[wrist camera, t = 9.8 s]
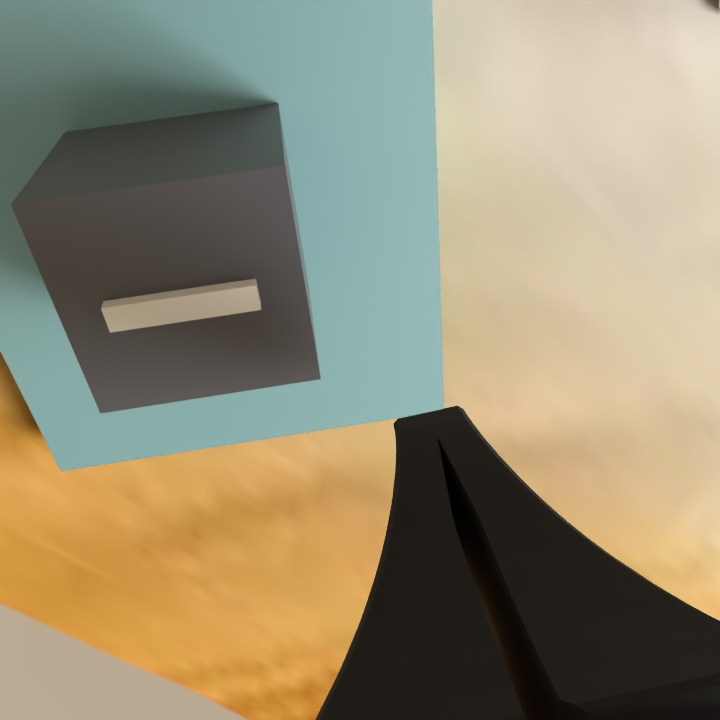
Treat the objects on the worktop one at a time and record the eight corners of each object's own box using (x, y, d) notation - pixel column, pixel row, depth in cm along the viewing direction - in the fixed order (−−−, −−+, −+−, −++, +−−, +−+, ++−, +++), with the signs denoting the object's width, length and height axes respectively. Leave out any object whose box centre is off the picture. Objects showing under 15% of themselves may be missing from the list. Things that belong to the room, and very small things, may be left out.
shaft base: (412, -184, 15) (463, -204, 11) (434, 384, 24) (466, 473, 21) (-193, -113, 14) (-346, -111, 11) (70, 441, 24) (37, 543, 20)
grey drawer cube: (278, 102, 17) (285, 171, 13) (308, 286, 20) (321, 387, 16) (64, 132, 16) (5, 210, 12) (129, 313, 19) (97, 421, 16)
